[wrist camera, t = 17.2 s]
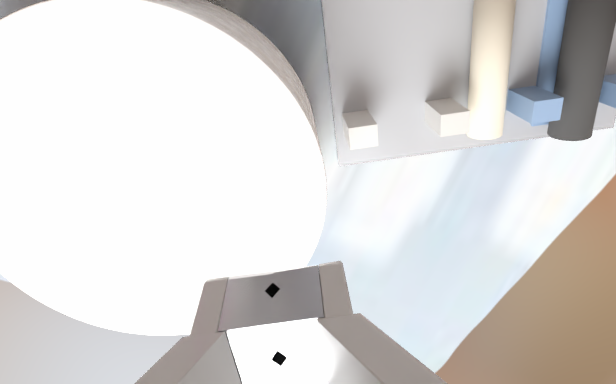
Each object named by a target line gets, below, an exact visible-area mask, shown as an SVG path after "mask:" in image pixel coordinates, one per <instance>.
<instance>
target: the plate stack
mask: <svg viewBox="0 0 616 384" xmlns="http://www.w3.org/2000/svg"><path fill="white" fill-rule="evenodd" d="M326 202H327V184H326V174H325V168H324V162H323V158H322V153H321V149H320V144H319V139H318V135H317V130H316V126H315V121H314V116H313V112H312V109H311V105H310V102H309V99H308V97H307V94H306V92H305V89H304V87H303V85H302V83H301V81H300V79H299V77H298V76H297V74H296V72H295V71H294V69H293V67H292V66H291V65H290V63H289V62H288V60H287V59H286V58H285V56H284V55H283V54H282V53H281V52H280V50H279V49H278V48H277V47H276V46H275V45H274V44H273V43H272V42H271V41H270V40H269V39H268V38H267V37H266V36H265V35H264V34H262V33H261V32H260V31H259V30H258V29H256V28H255V27H254V26H252V25H251V24H250V23H248V22H247V21H245V20H244V19H242V18H241V17H239V16H237V15H236V14H234V13H232V12H230V11H228V10H226V9H224V8H222V7H220V6H218V5H215V4H213V3H210V2H207V1H205V0H46V1H42V2H39V3H36V4H33V5H30V6H27V7H25V8H22V9H20V10H17V11H15V12H13V13H11V14H9V15H7V16H5V17H3V18H2V19H0V273H1V274H2V275H3V276H4V277H5V278H7V279H8V280H9V281H10V282H11V283H13V284H14V285H15V286H17V287H18V288H20V289H21V290H22V291H24V292H25V293H27V294H28V295H30V296H31V297H33V298H35V299H36V300H38V301H40V302H41V303H43V304H45V305H47V306H49V307H51V308H52V309H54V310H57V311H59V312H61V313H63V314H65V315H68V316H70V317H72V318H75V319H77V320H80V321H83V322H86V323H89V324H92V325H95V326H99V327H102V328H106V329H111V330H115V331H121V332H126V333H133V334H142V335H182V334H190V332H191V328H192V325H193V321H194V318H195V314H196V310H197V307H198V303H199V299H200V296H201V292H202V289H203V285H204V283H205V282H206V281H207V279H213V278H221V277H230V276H236V275H245V274H254V273H262V272H271V271H281V270H288V269H295V268H302V267H305V266H306V265H307V263H308V262H309V260H310V258H311V256H312V254H313V252H314V250H315V248H316V245H317V243H318V240H319V238H320V235H321V231H322V228H323V223H324V219H325V212H326Z"/></svg>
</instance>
